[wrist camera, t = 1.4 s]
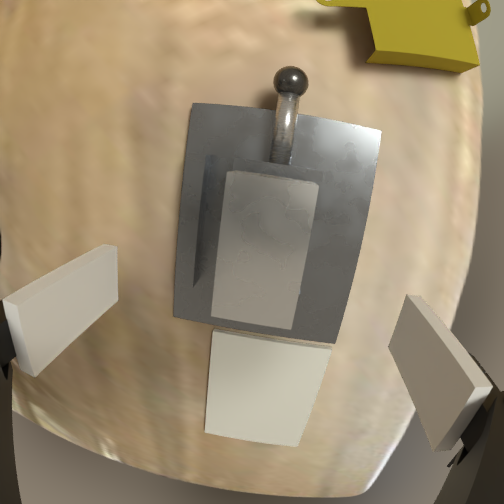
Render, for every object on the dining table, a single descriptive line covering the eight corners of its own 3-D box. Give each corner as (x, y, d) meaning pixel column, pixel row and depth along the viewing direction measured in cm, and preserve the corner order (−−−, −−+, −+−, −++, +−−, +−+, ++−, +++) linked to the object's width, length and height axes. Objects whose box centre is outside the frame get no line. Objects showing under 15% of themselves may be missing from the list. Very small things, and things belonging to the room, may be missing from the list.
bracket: (300, -86, 13) (460, -59, 11) (299, -41, 20) (433, -27, 18) (336, 64, 17) (512, 86, 15) (323, 90, 24) (466, 98, 22)
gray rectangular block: (243, 248, 27) (211, 316, 15) (254, 167, 25) (226, 171, 13) (289, 256, 27) (291, 329, 15) (303, 174, 25) (319, 185, 13)
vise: (176, 312, 31) (155, 342, 25) (201, 70, 24) (180, 49, 18) (333, 338, 30) (342, 374, 24) (382, 96, 23) (405, 81, 17)
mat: (205, 429, 36) (204, 432, 35) (214, 328, 31) (212, 331, 30) (297, 443, 35) (297, 446, 34) (331, 346, 30) (332, 349, 30)
